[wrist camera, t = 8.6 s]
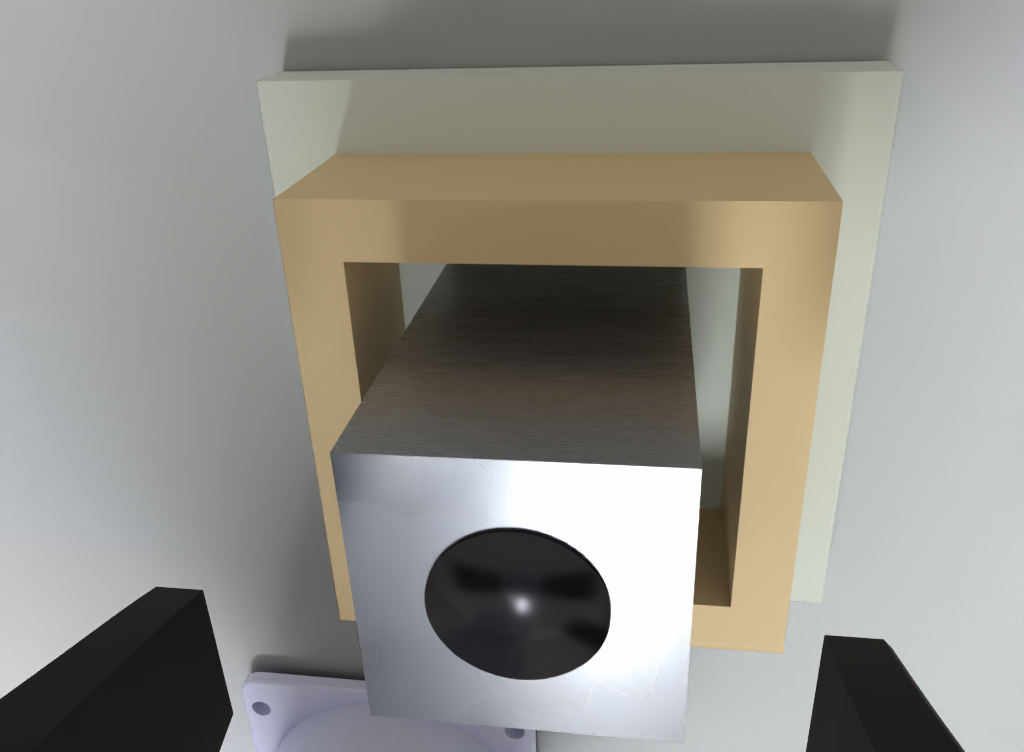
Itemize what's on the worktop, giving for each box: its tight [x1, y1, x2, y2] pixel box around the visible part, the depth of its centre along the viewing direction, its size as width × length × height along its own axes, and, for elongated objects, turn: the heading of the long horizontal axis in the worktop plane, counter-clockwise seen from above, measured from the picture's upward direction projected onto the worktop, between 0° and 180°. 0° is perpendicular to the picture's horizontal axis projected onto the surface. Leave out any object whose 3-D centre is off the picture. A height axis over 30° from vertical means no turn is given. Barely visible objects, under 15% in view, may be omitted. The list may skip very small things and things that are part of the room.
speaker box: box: [330, 264, 702, 743], centre depth 14 cm, size 4×4×7 cm
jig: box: [256, 61, 904, 653], centre depth 17 cm, size 11×11×4 cm
